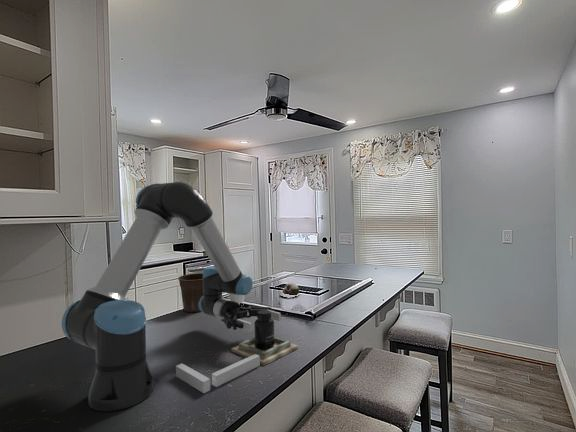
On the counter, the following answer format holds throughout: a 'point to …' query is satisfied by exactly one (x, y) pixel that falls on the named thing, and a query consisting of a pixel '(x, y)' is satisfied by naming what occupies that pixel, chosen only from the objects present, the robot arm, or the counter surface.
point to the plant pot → (191, 291)
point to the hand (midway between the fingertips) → (266, 322)
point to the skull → (291, 289)
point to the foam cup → (237, 298)
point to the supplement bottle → (264, 331)
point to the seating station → (266, 356)
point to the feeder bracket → (216, 373)
